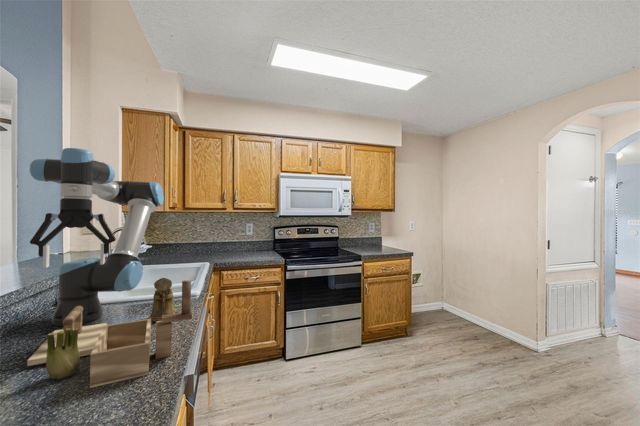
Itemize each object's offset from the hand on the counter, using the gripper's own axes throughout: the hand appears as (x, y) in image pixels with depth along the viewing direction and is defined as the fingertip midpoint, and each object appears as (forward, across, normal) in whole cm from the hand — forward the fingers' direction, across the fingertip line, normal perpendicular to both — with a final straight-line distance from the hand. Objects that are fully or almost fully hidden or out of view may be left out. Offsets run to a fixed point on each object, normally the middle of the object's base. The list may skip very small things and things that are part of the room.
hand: (75, 265), depth 88 cm
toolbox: (+25, +18, -19) cm, 36 cm away
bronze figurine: (+26, +24, +12) cm, 37 cm away
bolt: (+15, +28, -19) cm, 37 cm away
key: (+26, +28, +24) cm, 45 cm away
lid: (+24, 0, 0) cm, 25 cm away
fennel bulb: (+25, +2, -20) cm, 32 cm away
